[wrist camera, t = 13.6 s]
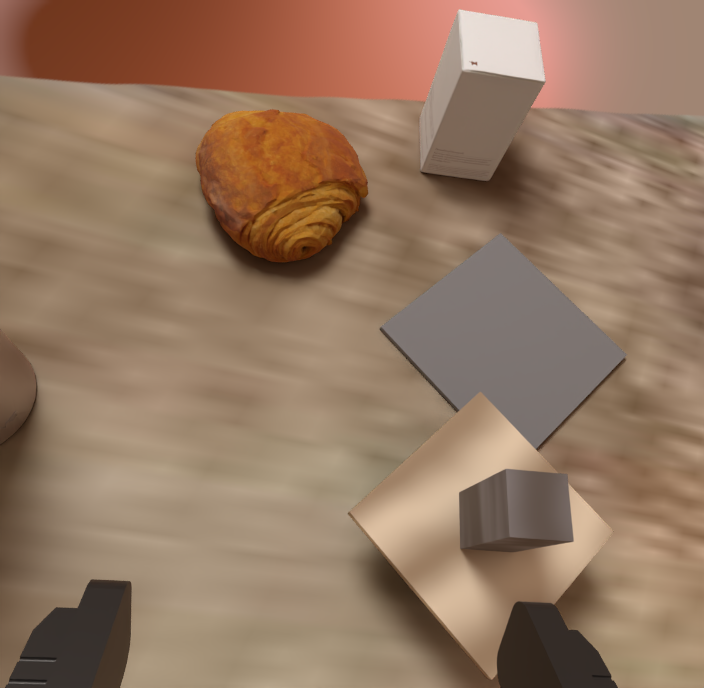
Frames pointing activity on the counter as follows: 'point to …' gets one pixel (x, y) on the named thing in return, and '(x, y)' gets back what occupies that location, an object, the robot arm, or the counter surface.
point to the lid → (480, 527)
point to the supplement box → (479, 94)
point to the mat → (505, 341)
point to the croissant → (279, 181)
